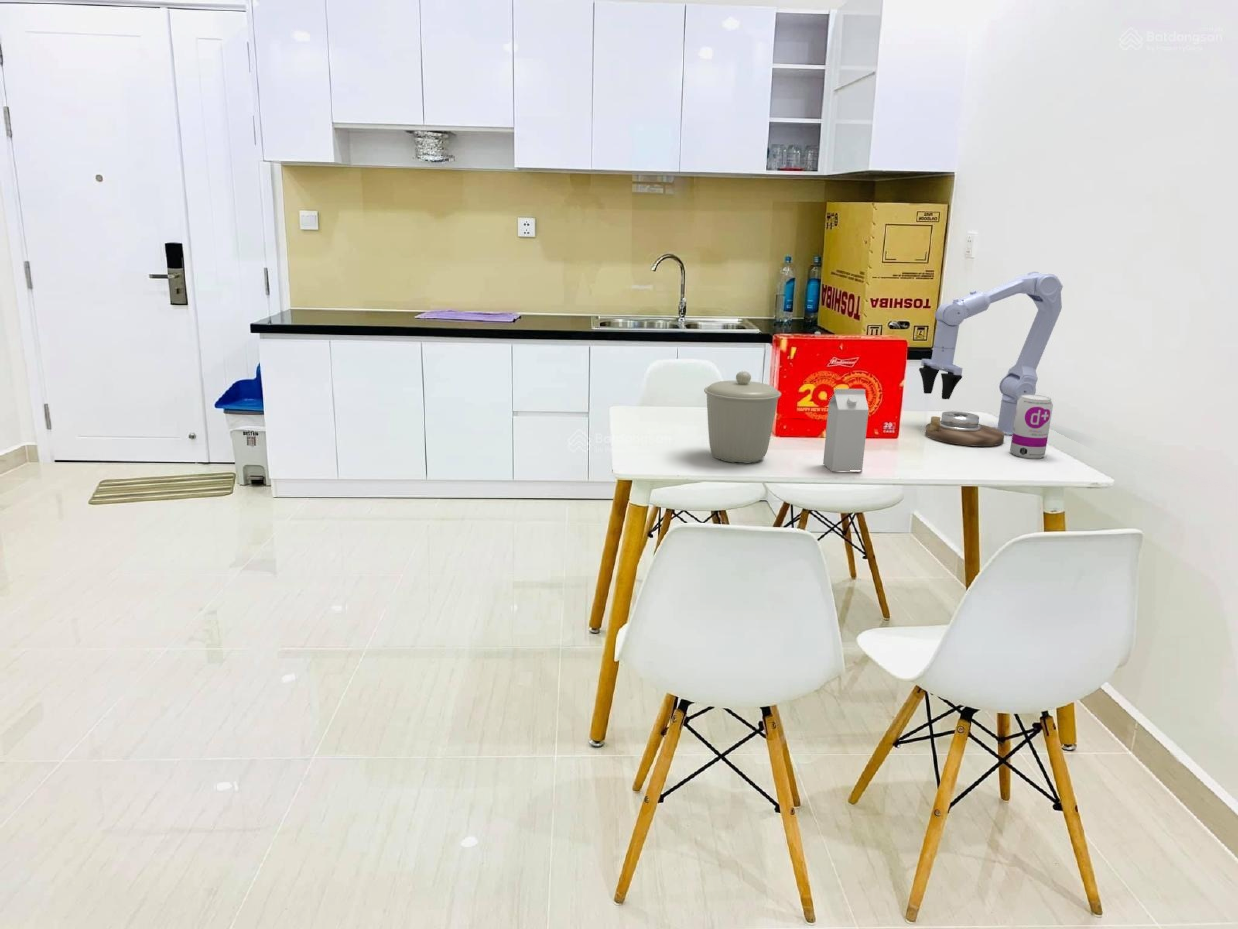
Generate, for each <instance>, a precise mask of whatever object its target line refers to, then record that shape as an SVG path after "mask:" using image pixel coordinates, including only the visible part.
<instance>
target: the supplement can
mask: <svg viewBox="0 0 1238 929" xmlns="http://www.w3.org/2000/svg"><path fill="white" fill-rule="evenodd" d="M1053 408H1054V404H1053V401H1052V398H1051V397H1050V396H1045V395H1040V394H1035V395H1031V394H1025V395H1021V397H1020V398H1019V400H1018V401H1017V407H1016V414H1015V420H1014V427H1013V434H1012V435H1011V440H1010V441H1011V442H1010V447H1009V451H1010V452H1011V454H1012V455H1013V456H1015V455H1016V457H1018V456H1020V457H1019V458H1022V459H1023V458H1024V459H1031V460H1032V459H1036V460H1037V459H1041V458H1042V457H1044V456H1045V455H1046V451H1047V444H1048V438H1049V431H1050V427H1051V426H1050V425H1051V420H1052V414H1053Z"/></svg>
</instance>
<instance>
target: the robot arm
mask: <svg viewBox="0 0 1238 929" xmlns="http://www.w3.org/2000/svg"><path fill="white" fill-rule="evenodd" d="M1063 287H1064V286H1063V284H1062V283H1061V280H1060V279H1059V277H1058V276H1057V275H1055V274H1053V273H1044V272H1043V273H1041V272H1038V271H1031V272H1028V273H1027V274H1022V275H1019V276H1018V277H1015V278H1014V279H1011V280H1009V281H1007V282H1005V283H1003V284H1001V285H999V286H997V287H995V288H994V287H993V288H992V289H991V290H987V291H986V292H985V291H982V290H974V289H973V290H970V291H969V294H967V295H965V296H963V297H960V298H958V297H956V298H954V299H952V302H944V303H942V304H940V305H939V307H937V310H936V311H935V312H934V317H935V319H936V322H937V323H936V329H935V334H934V341H933V348H932V355H931V358H930V359H929V358H921V364H920V366H921V367H918V368H919V369H918V372H919V373H920V376H921V380H922V386H923V389H922V390H923V394H926V395H927V394H932V393H933V389H934V386H935V385H934V384H935V381H936V378H937V376H938V373H939V372H940V371H943V372H941V373H940V375H941V381H942V383H941V384H942V385H941V386H942V388H941V399H942V400H950V399H951V396H952V394H953V392H954V390H955V387H956V386H957V384H958V383H959V382H960V381H961V379H963V374H962V373H963V367H960V366H958V365H955V364H954V359H955V353H956V346H957V341H958V340H957V339H958V336H959V335H958V334H959V328H960V325H961V324H962V323H963V322H964V320H966V319H968V318H970V317H973V316H977V315H978V314H980V313H983V312H985V311H987V310H989V307H990V305H991V304H993V303H996V302H998V301H1001V300H1004V299H1008V298H1009V297H1012V296H1015V295H1017V294H1023V295H1024V294H1026V295H1027V297H1029V298H1030V299H1031V300H1032V301H1033V302H1034V304H1035V306H1036V308H1037V312H1036V315H1035V317H1034V319H1033V322H1032V324H1031V326H1030V329H1029V331H1028V334H1027V337H1026V339H1025V341H1024V344H1023V345H1022V348H1021V351H1020V353H1019V354H1018V357H1017V360H1016V362H1015V365H1013V366H1012V367H1011V368H1009V370H1008V371H1007V373H1006V375H1005V376H1004V377H1003V378H1002V379H1001V380H1000V382H999V392H1000V393H1001V395H1002V396H1001V401H1000V408H999V414H998V422H997V426H992V427H993V428H996V429H999V430H1001V431H1003V432H1004V436H1012V434H1013V427H1014V420H1015V414H1016V407H1017V401H1018V400H1019V398H1020V397H1021V395H1025V394H1031V395H1036V393H1037V392H1036V391H1037V388H1036V386H1037V382H1038V375H1037V371H1036V370H1037V368H1038V366H1039V364H1040V361H1041V360H1042V358H1043V357H1042V356H1043V354H1044V352H1045V349H1046V347H1047V344H1048V342H1049V340H1050V337H1051V335H1052V332H1053V330H1054V328H1055V326H1056V323H1057V322H1058V321H1057V320H1058V319H1059V316H1060V313H1061V311H1062V308H1063V307H1062V306H1063V305H1062V289H1063Z"/></svg>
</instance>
